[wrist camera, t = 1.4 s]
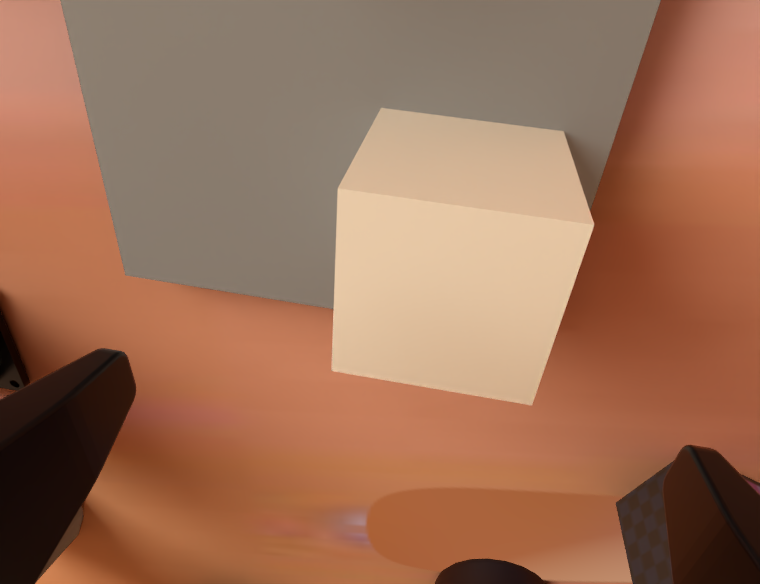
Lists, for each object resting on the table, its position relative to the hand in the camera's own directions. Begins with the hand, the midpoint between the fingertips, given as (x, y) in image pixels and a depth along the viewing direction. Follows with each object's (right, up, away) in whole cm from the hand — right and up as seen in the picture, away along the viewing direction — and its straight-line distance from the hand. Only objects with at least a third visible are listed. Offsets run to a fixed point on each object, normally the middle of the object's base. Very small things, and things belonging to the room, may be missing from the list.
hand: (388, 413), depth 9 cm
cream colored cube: (+2, +5, +8) cm, 10 cm away
